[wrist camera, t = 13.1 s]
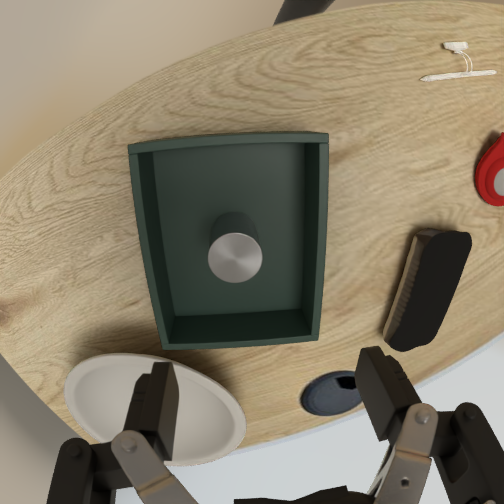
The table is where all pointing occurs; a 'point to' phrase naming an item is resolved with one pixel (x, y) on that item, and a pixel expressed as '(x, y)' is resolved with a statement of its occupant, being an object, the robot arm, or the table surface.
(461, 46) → the picture light
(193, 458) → the soup bowl
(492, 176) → the tracker holder
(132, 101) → the table surface
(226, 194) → the bin
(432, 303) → the bristle scrub brush
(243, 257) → the metal cylinder
